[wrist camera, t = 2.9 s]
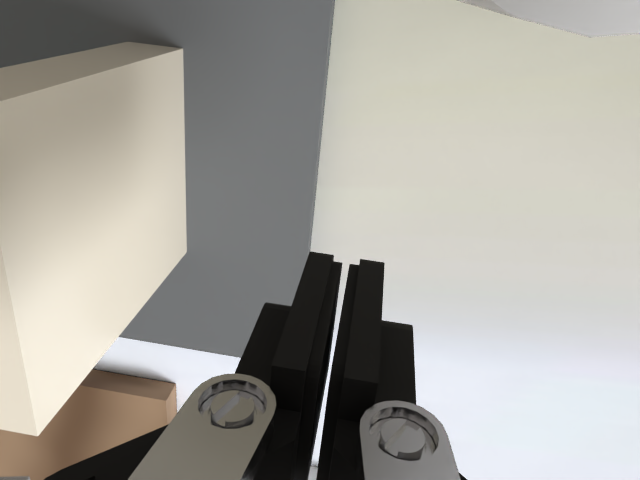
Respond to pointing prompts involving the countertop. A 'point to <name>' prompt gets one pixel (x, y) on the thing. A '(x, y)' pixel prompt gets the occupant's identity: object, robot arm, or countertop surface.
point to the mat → (217, 144)
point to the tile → (83, 213)
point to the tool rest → (90, 424)
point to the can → (573, 14)
